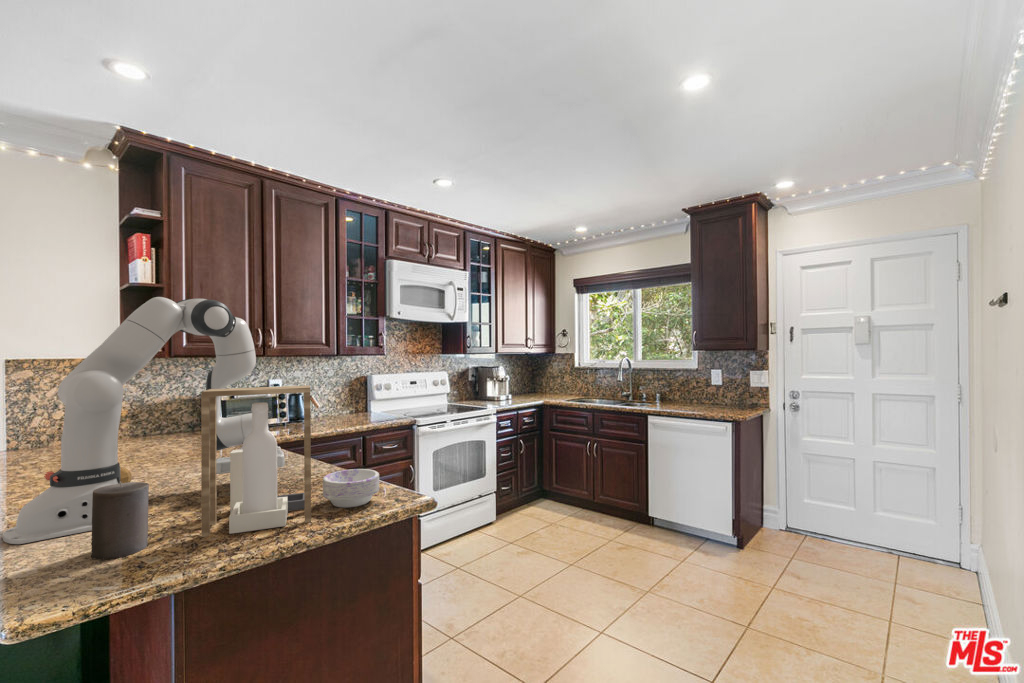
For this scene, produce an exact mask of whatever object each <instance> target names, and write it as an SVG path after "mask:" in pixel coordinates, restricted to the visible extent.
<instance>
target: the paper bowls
mask: <svg viewBox="0 0 1024 683" xmlns="http://www.w3.org/2000/svg"><path fill="white" fill-rule="evenodd" d="M379 491H380V473H379V472H378V471H376V470H374V469H369V468H354V469H353V468H352V469H345V470H344V469H343V470H339V471H338V470H337V471H334V472H331V473H328V474H326V475H324V477H322V496H323V498H324V499H327V500H329V501H330V502H331V504H332V505H333V506H334V507H337V508H343V509H344V508H345V509H346V508H348V509H349V508H356V507H360V506H363V505H366V504H368V503H369V502H370V501H371V500H372V498H373V496H374V495H375V494H377V493H378V492H379Z"/></svg>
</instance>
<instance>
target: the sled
mask: <svg viewBox="0 0 1024 683" xmlns="http://www.w3.org/2000/svg"><path fill="white" fill-rule="evenodd" d="M229 457H230V473H229V475H230V477H229V479H230V482H229V487H230V492H229V494H230V495H229V496H230V498H229V499H230V500H229V504H230V505H229V508H230V510H229V513H230V515H229V518H228V519H229V520H228V522H229V523H228V530H229V531H228V533H229V535H230V534H238V533H246V532H252V531H260V530H267V529H273V528H280V527H286V526H287V519H288V512H289V511H288V496H287V497H279V498H277V507H278V509H276V510H269V511H261V512H253V513H245V514H242V512H243V450H240V449H233V450H231V452H230V453H229Z"/></svg>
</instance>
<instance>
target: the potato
mask: <svg viewBox="0 0 1024 683" xmlns="http://www.w3.org/2000/svg"><path fill="white" fill-rule="evenodd" d="M132 478H133V476H132V472H131V471H130V470H129V469H128V468H125V467H122V466H120V481H121V483H129V482H132ZM119 484H120V483H119Z"/></svg>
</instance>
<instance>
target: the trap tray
mask: <svg viewBox="0 0 1024 683" xmlns="http://www.w3.org/2000/svg"><path fill="white" fill-rule="evenodd" d="M287 496H288V512H291V511H299V510H305V494H304V492H300V493H299V492H296V493H289V494H280V495H277V498H279V497H287Z"/></svg>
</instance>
